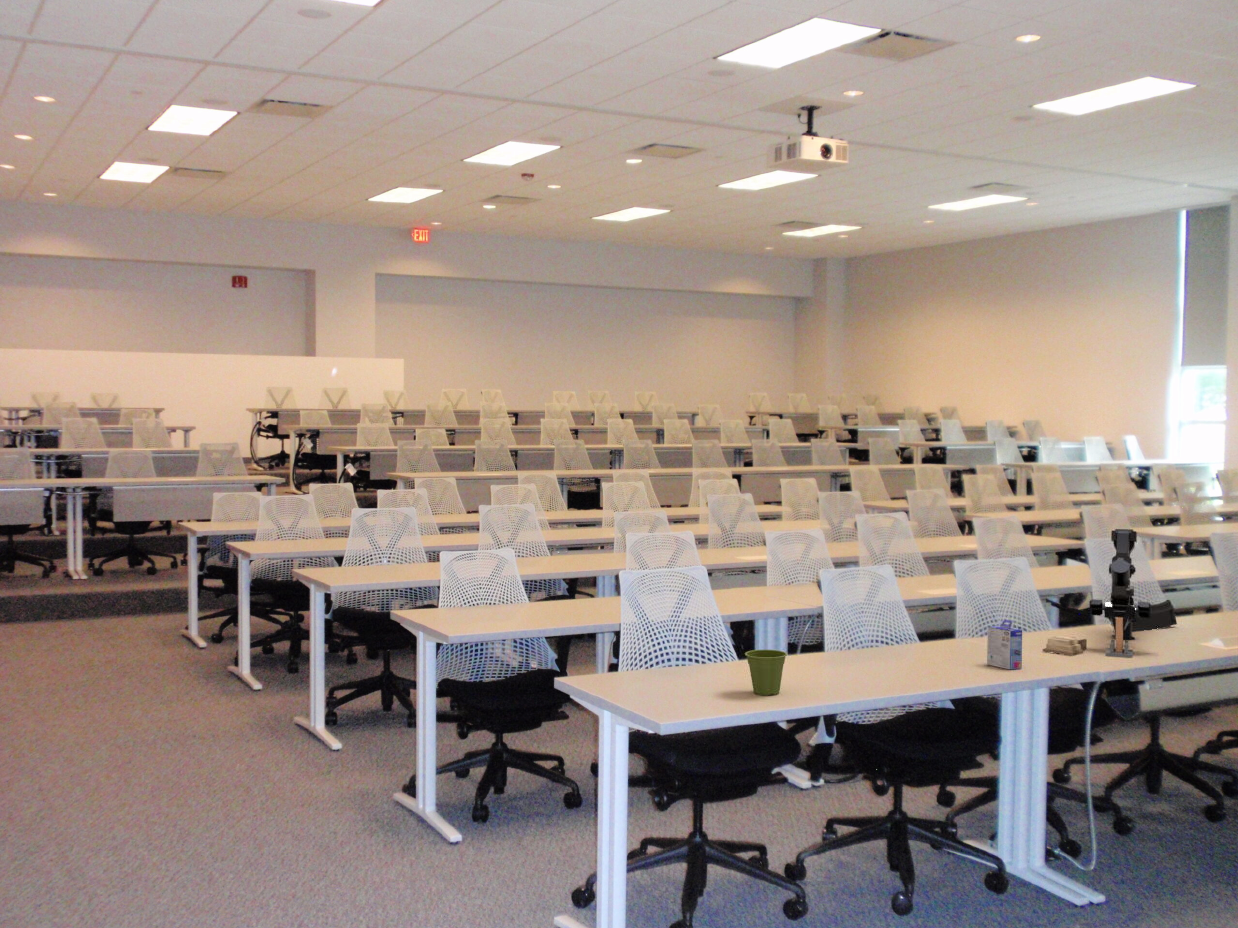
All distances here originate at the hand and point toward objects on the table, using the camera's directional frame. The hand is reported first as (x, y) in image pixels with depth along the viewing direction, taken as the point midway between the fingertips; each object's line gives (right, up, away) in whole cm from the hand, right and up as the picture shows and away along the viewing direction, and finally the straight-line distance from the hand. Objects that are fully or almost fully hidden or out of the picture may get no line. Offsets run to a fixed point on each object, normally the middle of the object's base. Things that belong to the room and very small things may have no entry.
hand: (1119, 629), depth 374 cm
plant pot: (-123, -10, -54) cm, 135 cm away
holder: (+1, -8, +1) cm, 9 cm away
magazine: (+31, -8, +50) cm, 59 cm away
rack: (-14, -8, +7) cm, 18 cm away
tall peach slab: (+1, -7, +1) cm, 8 cm away
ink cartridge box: (-44, -9, -19) cm, 49 cm away
